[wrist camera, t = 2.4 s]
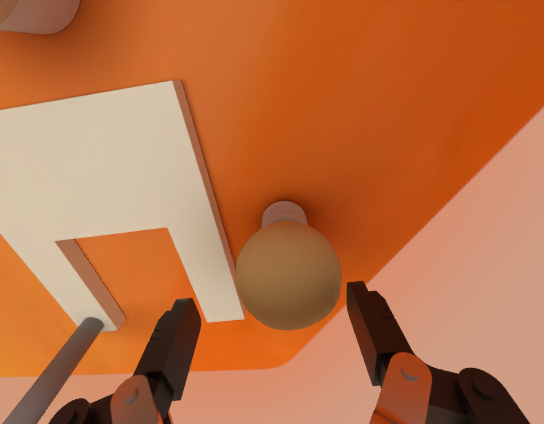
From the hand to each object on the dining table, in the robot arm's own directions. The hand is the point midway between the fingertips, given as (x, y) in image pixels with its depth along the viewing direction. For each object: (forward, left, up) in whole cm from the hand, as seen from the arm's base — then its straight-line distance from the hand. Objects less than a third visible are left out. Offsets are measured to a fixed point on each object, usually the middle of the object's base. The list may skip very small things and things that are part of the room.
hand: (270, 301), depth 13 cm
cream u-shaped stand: (+13, 0, -9) cm, 16 cm away
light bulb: (-1, +1, -10) cm, 10 cm away
